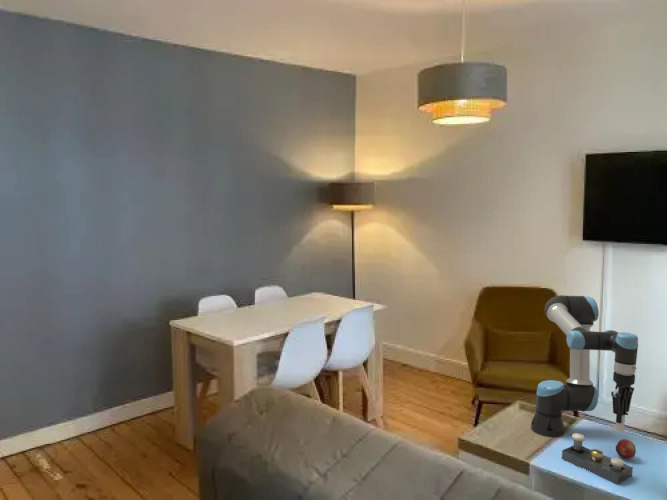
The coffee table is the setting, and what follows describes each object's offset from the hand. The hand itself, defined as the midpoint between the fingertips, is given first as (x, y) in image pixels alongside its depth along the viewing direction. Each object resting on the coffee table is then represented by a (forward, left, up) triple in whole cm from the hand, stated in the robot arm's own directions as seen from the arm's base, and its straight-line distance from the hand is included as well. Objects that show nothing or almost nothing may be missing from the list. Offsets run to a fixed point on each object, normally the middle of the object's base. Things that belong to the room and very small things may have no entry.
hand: (619, 430), depth 218 cm
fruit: (-6, +19, -20) cm, 28 cm away
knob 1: (-17, 0, -15) cm, 22 cm away
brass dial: (-8, 0, -15) cm, 18 cm away
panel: (-8, 0, -19) cm, 21 cm away
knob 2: (0, 0, -18) cm, 18 cm away
